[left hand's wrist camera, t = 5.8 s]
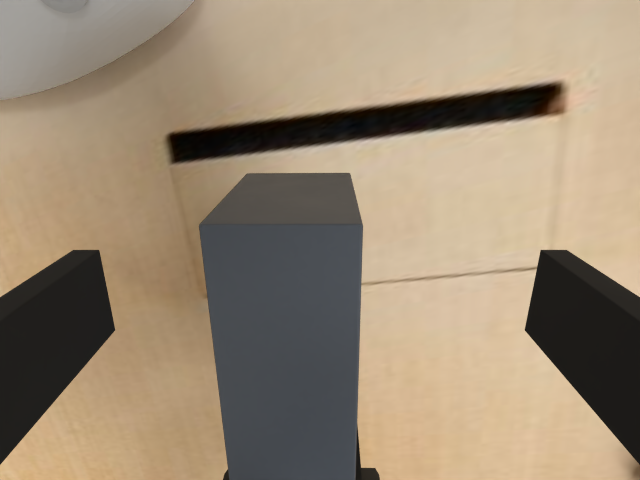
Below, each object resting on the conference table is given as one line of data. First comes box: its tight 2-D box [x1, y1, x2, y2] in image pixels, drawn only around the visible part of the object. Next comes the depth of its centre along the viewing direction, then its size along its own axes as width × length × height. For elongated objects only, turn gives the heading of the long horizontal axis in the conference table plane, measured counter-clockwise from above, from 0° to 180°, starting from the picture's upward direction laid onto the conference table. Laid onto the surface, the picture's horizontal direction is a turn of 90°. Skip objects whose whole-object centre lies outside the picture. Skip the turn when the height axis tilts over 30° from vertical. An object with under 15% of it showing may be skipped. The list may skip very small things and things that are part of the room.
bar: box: [199, 173, 363, 480], centre depth 23 cm, size 22×6×9 cm, turn 0°
